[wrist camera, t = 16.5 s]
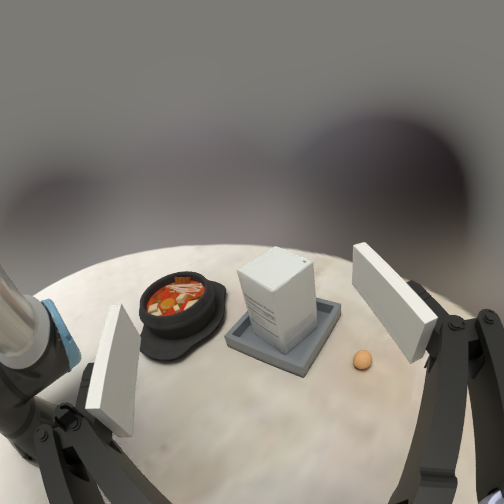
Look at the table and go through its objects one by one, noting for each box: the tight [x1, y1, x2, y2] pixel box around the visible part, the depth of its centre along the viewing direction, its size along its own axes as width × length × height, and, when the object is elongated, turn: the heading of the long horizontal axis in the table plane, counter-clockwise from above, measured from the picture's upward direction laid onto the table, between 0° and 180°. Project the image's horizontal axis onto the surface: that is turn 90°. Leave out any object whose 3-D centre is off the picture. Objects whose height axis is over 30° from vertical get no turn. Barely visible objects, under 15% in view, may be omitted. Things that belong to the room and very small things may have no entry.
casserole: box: [139, 271, 226, 360], centre depth 58 cm, size 25×19×8 cm
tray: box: [224, 298, 341, 378], centre depth 52 cm, size 16×16×3 cm
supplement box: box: [237, 246, 318, 354], centre depth 48 cm, size 9×9×15 cm
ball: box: [353, 350, 372, 369], centre depth 41 cm, size 3×3×3 cm
